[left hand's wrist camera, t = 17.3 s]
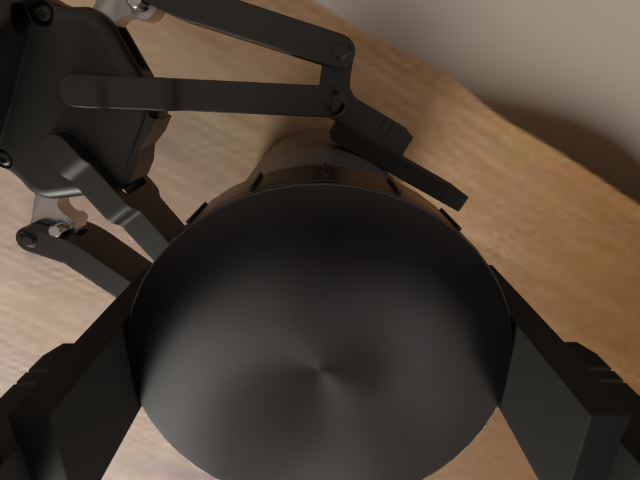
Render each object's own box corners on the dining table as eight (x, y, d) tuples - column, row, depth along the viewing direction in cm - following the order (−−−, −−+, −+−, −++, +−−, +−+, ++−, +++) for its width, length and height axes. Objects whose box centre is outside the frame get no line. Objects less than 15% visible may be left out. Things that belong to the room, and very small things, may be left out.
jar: (414, 215, 27) (532, 382, 12) (304, 285, 28) (287, 504, 14) (338, 98, 24) (368, 123, 9) (222, 182, 26) (93, 316, 11)
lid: (174, 445, 14) (151, 503, 12) (136, 156, 11) (93, 173, 9) (456, 450, 14) (478, 509, 13) (512, 166, 11) (555, 185, 9)
